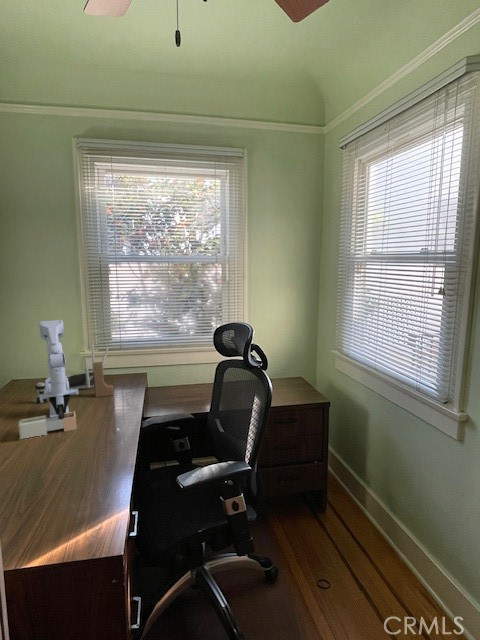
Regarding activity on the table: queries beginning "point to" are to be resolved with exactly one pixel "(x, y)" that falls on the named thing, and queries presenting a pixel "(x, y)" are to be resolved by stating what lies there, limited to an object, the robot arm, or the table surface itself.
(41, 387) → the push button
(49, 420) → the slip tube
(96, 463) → the table surface
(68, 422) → the socket
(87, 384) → the wireless router
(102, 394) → the wooden block
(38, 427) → the white channel beam
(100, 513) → the table surface
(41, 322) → the robot arm
